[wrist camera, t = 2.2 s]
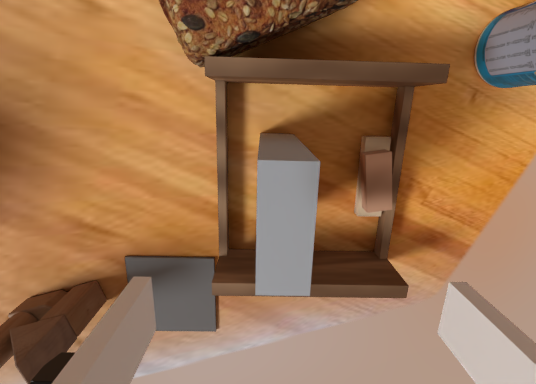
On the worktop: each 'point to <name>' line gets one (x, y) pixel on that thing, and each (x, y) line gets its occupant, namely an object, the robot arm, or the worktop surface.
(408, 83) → the frame
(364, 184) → the offcut upper
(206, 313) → the mat
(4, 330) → the brown long-handled part
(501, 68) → the beverage bottle
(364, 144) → the offcut lower
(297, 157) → the grey rectangular block
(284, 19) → the bread
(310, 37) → the worktop surface
